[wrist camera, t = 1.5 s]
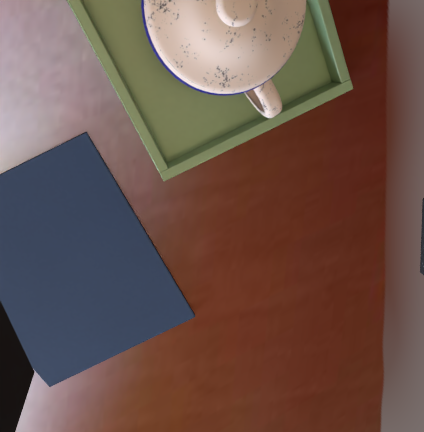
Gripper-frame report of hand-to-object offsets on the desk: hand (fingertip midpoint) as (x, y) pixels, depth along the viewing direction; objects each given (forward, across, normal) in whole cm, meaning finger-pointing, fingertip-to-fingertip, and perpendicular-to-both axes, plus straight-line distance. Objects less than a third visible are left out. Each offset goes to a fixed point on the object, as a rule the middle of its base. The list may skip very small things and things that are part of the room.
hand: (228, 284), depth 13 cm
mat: (+22, +12, +10) cm, 27 cm away
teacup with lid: (+22, -5, -7) cm, 24 cm away
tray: (+22, -5, -7) cm, 24 cm away
